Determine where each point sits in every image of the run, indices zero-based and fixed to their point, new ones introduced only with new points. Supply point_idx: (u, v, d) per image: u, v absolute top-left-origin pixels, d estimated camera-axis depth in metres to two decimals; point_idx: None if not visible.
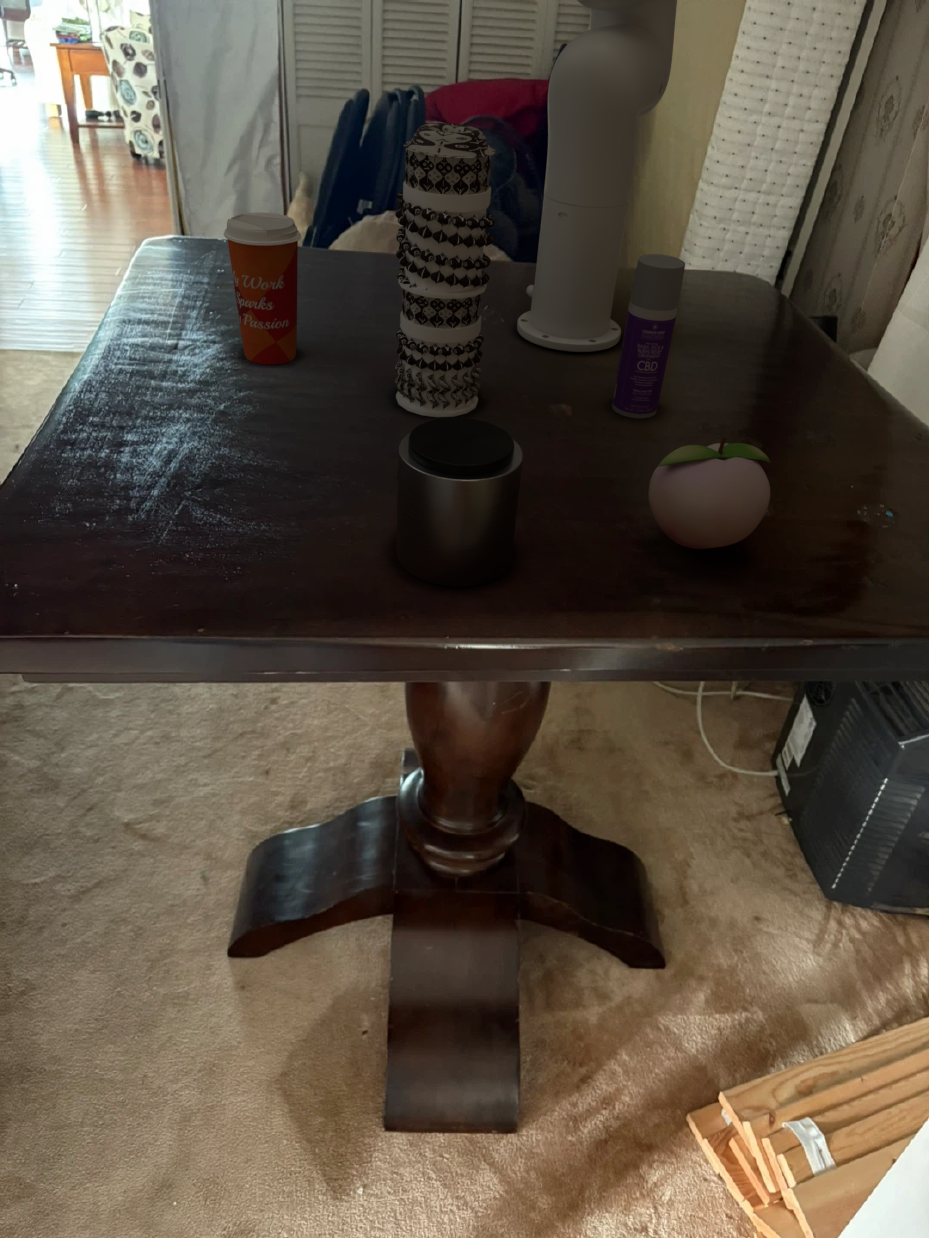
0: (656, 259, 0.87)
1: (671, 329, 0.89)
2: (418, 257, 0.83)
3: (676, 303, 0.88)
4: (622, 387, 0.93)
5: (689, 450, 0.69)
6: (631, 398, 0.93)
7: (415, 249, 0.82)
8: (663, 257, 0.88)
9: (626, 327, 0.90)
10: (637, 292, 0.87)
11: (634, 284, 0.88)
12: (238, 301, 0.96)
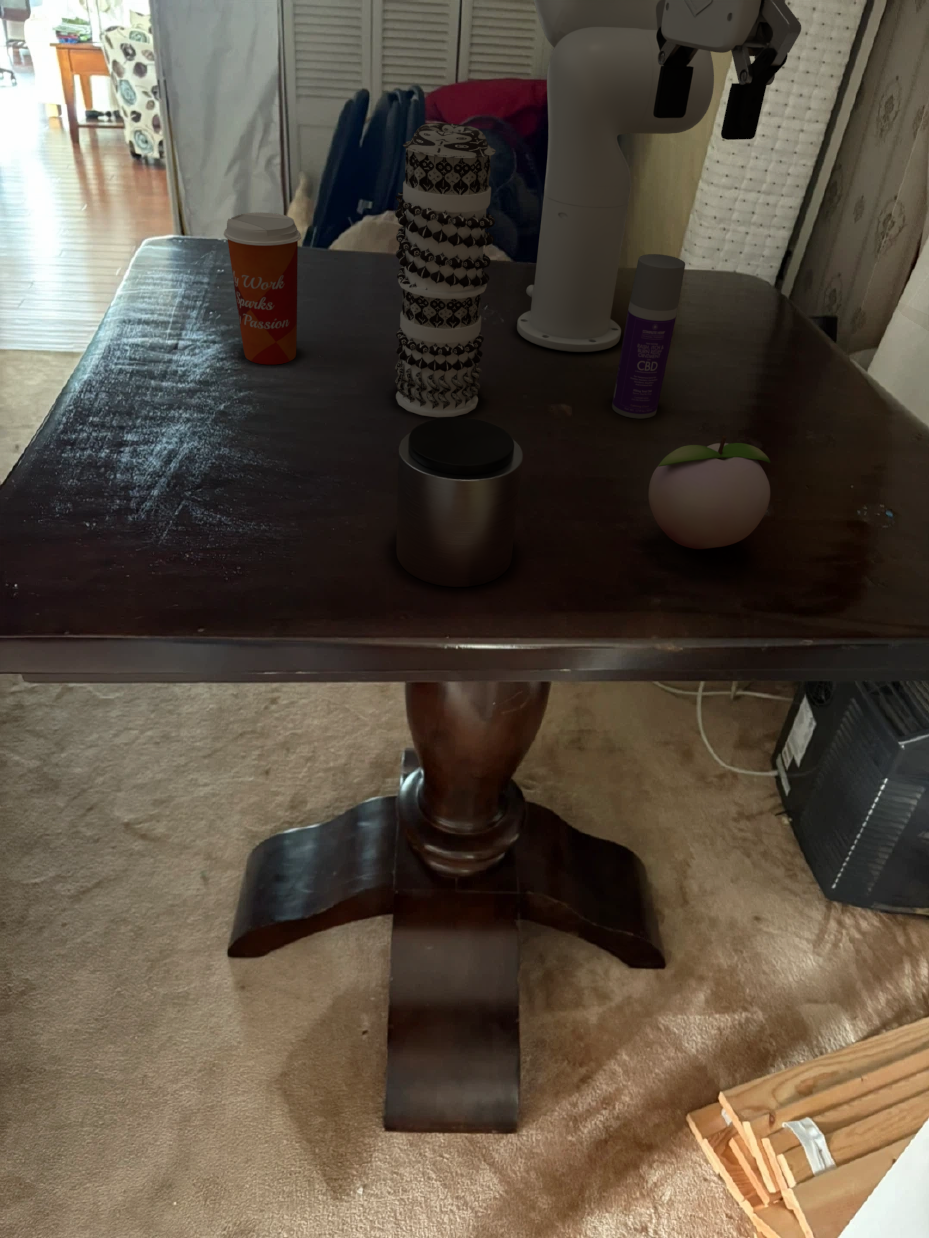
0: (656, 259, 0.87)
1: (671, 329, 0.89)
2: (418, 257, 0.83)
3: (676, 303, 0.88)
4: (622, 387, 0.93)
5: (689, 450, 0.69)
6: (631, 398, 0.93)
7: (415, 249, 0.82)
8: (663, 257, 0.88)
9: (626, 327, 0.90)
10: (637, 292, 0.87)
11: (634, 284, 0.88)
12: (238, 301, 0.96)
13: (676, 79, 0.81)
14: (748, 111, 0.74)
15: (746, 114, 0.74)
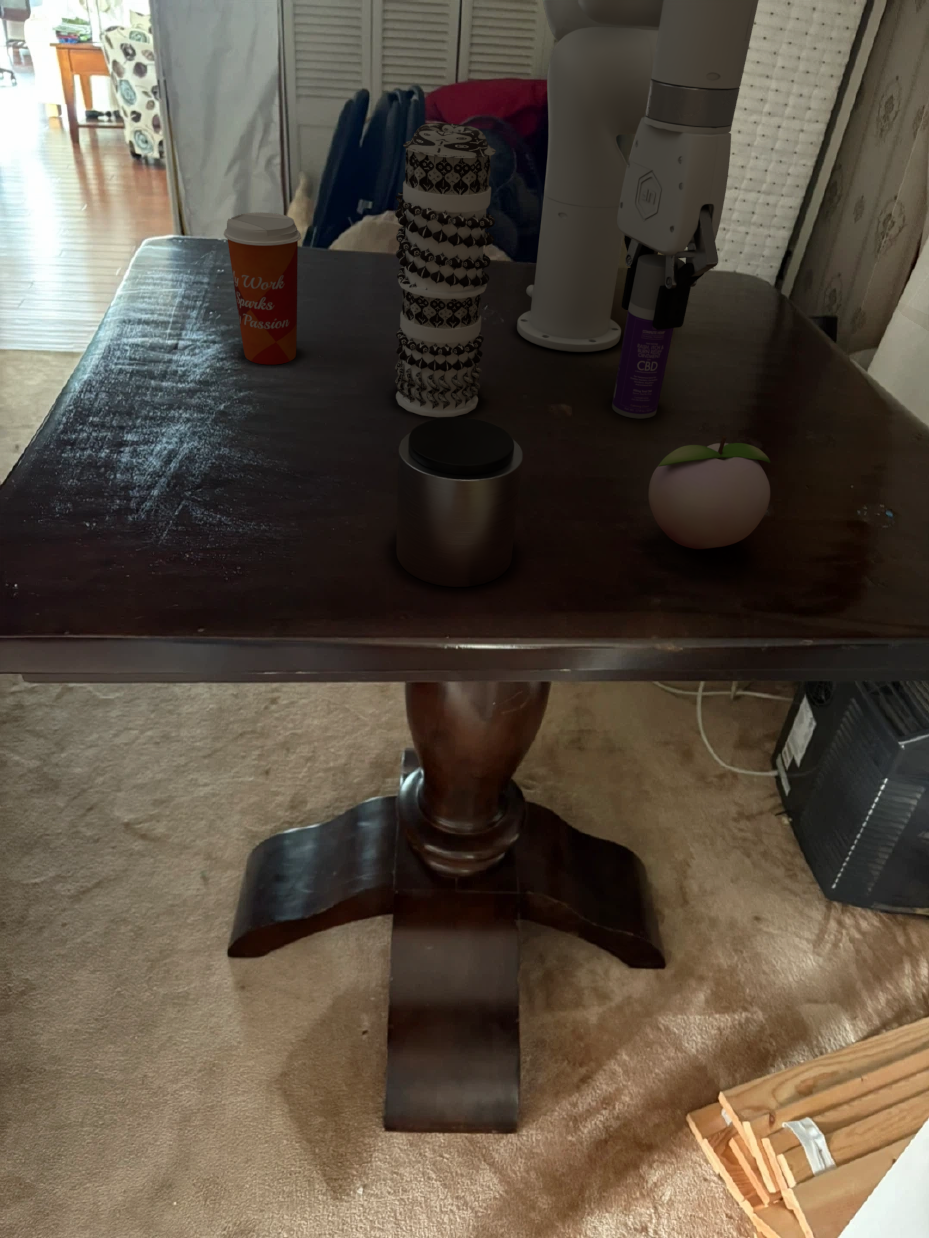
0: (656, 259, 0.87)
1: (671, 329, 0.89)
2: (418, 257, 0.83)
3: None
4: (622, 387, 0.93)
5: (689, 450, 0.69)
6: (631, 398, 0.93)
7: (415, 249, 0.82)
8: (663, 257, 0.88)
9: (626, 327, 0.90)
10: (637, 292, 0.87)
11: (634, 284, 0.88)
12: (238, 301, 0.96)
13: None
14: (674, 308, 0.86)
15: (673, 310, 0.86)
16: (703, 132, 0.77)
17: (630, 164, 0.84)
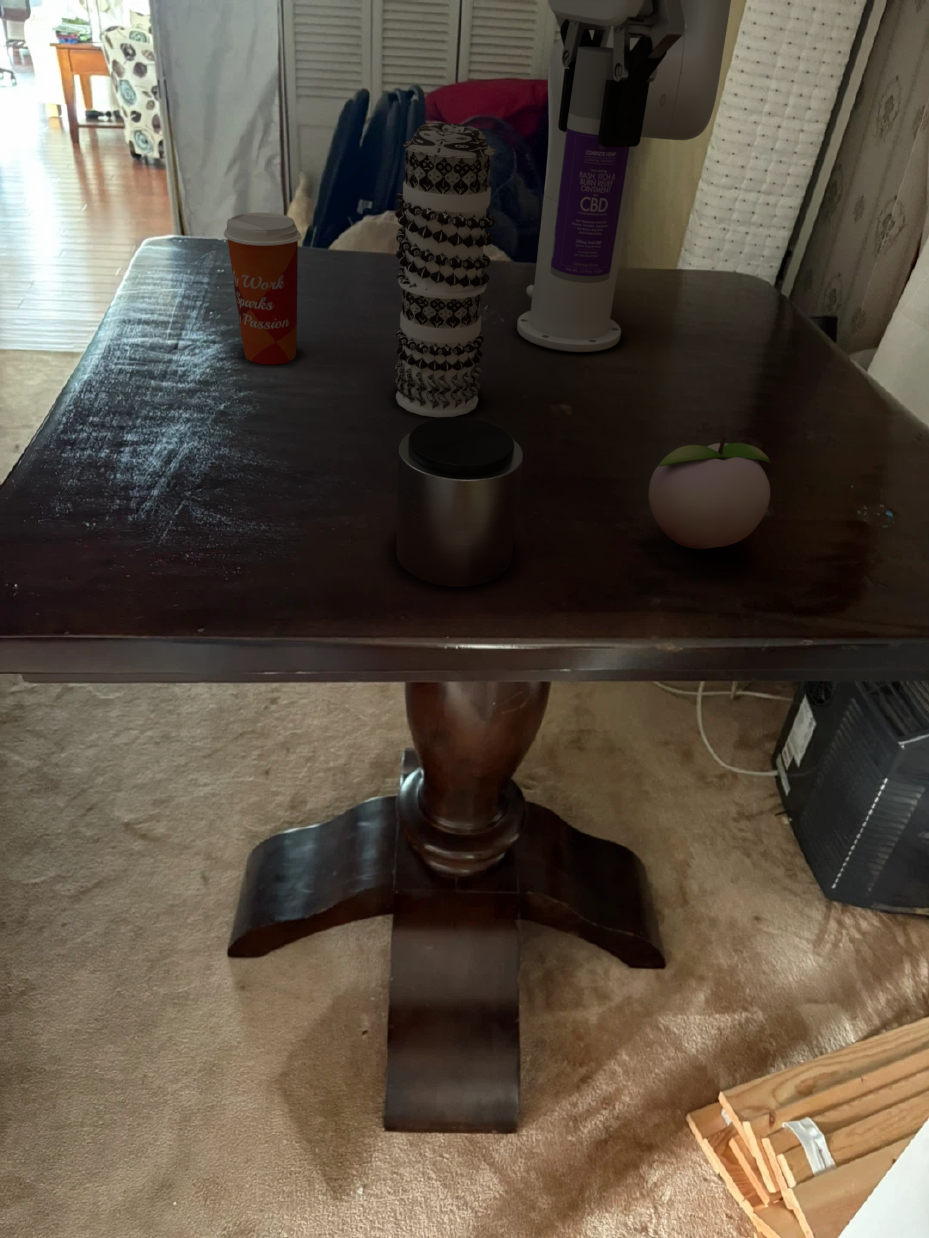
0: (603, 49, 0.63)
1: (625, 151, 0.66)
2: (418, 257, 0.83)
3: None
4: (561, 238, 0.69)
5: (689, 450, 0.69)
6: (574, 253, 0.69)
7: (415, 249, 0.82)
8: None
9: (565, 151, 0.67)
10: (577, 96, 0.64)
11: (573, 86, 0.64)
12: (238, 301, 0.96)
13: None
14: (627, 113, 0.62)
15: (625, 116, 0.62)
16: None
17: None
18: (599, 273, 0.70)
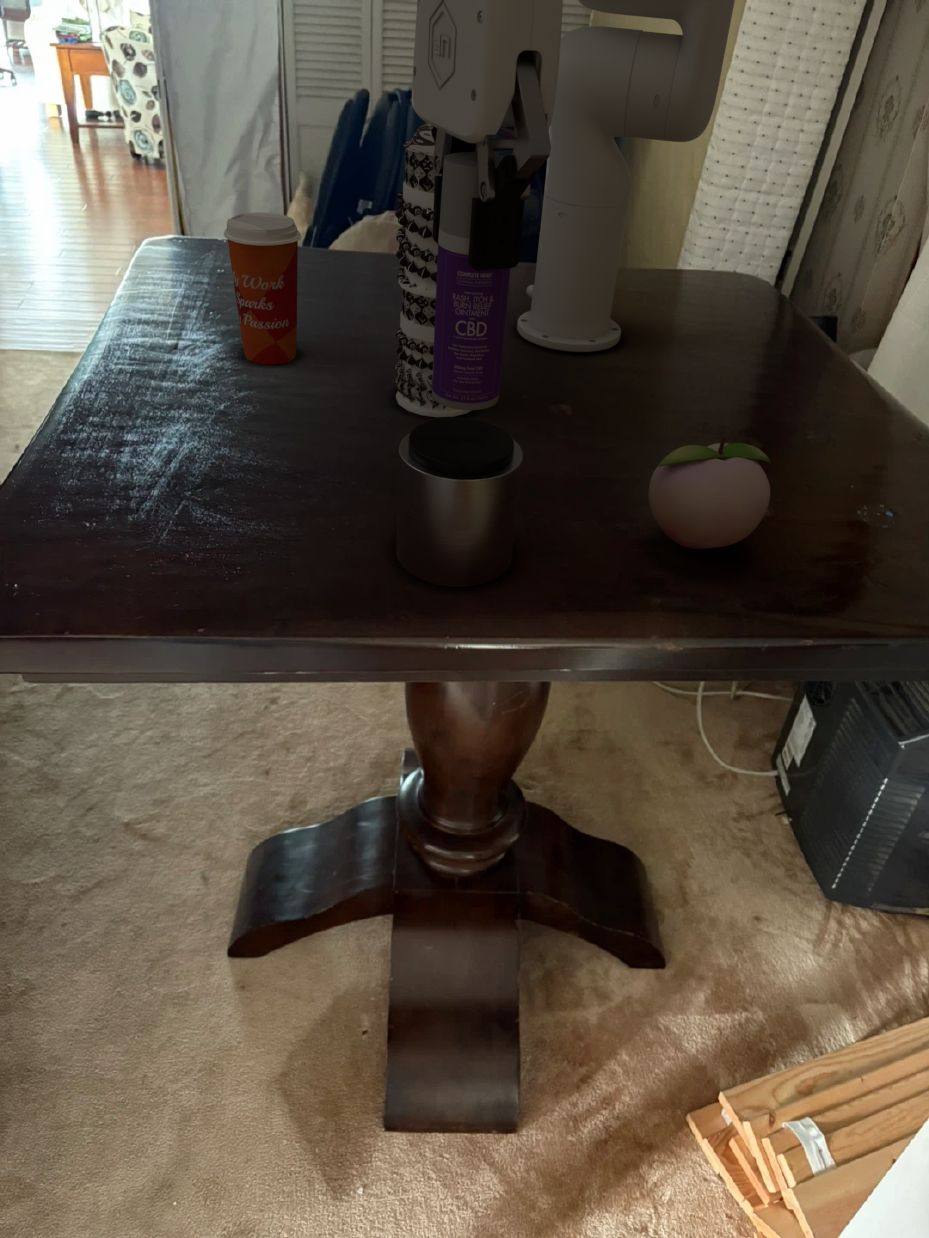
0: (473, 157, 0.55)
1: (504, 270, 0.57)
2: (418, 257, 0.83)
3: None
4: (439, 362, 0.61)
5: (689, 450, 0.69)
6: (453, 379, 0.61)
7: (415, 249, 0.82)
8: None
9: (437, 268, 0.58)
10: (445, 211, 0.55)
11: (441, 198, 0.56)
12: (238, 301, 0.96)
13: None
14: (498, 235, 0.54)
15: (496, 239, 0.54)
16: None
17: None
18: (483, 399, 0.62)
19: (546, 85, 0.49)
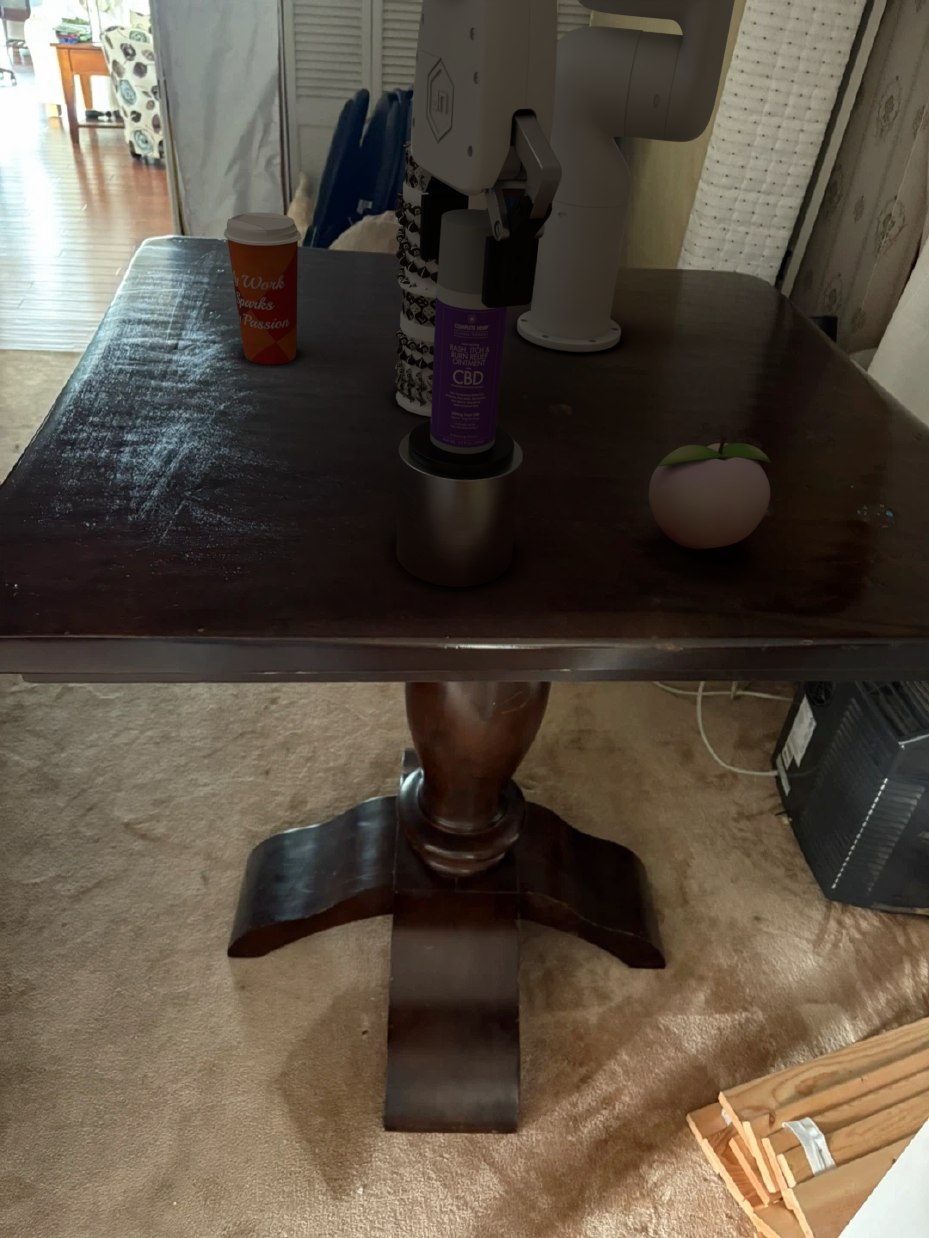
0: (470, 216, 0.57)
1: (500, 322, 0.59)
2: (418, 257, 0.83)
3: None
4: (437, 408, 0.63)
5: (689, 450, 0.69)
6: (451, 424, 0.63)
7: (415, 249, 0.82)
8: (483, 213, 0.58)
9: (435, 320, 0.60)
10: (442, 266, 0.58)
11: (439, 254, 0.58)
12: (238, 301, 0.96)
13: (444, 211, 0.60)
14: (512, 273, 0.54)
15: (510, 277, 0.54)
16: None
17: (418, 54, 0.54)
18: (480, 443, 0.64)
19: None
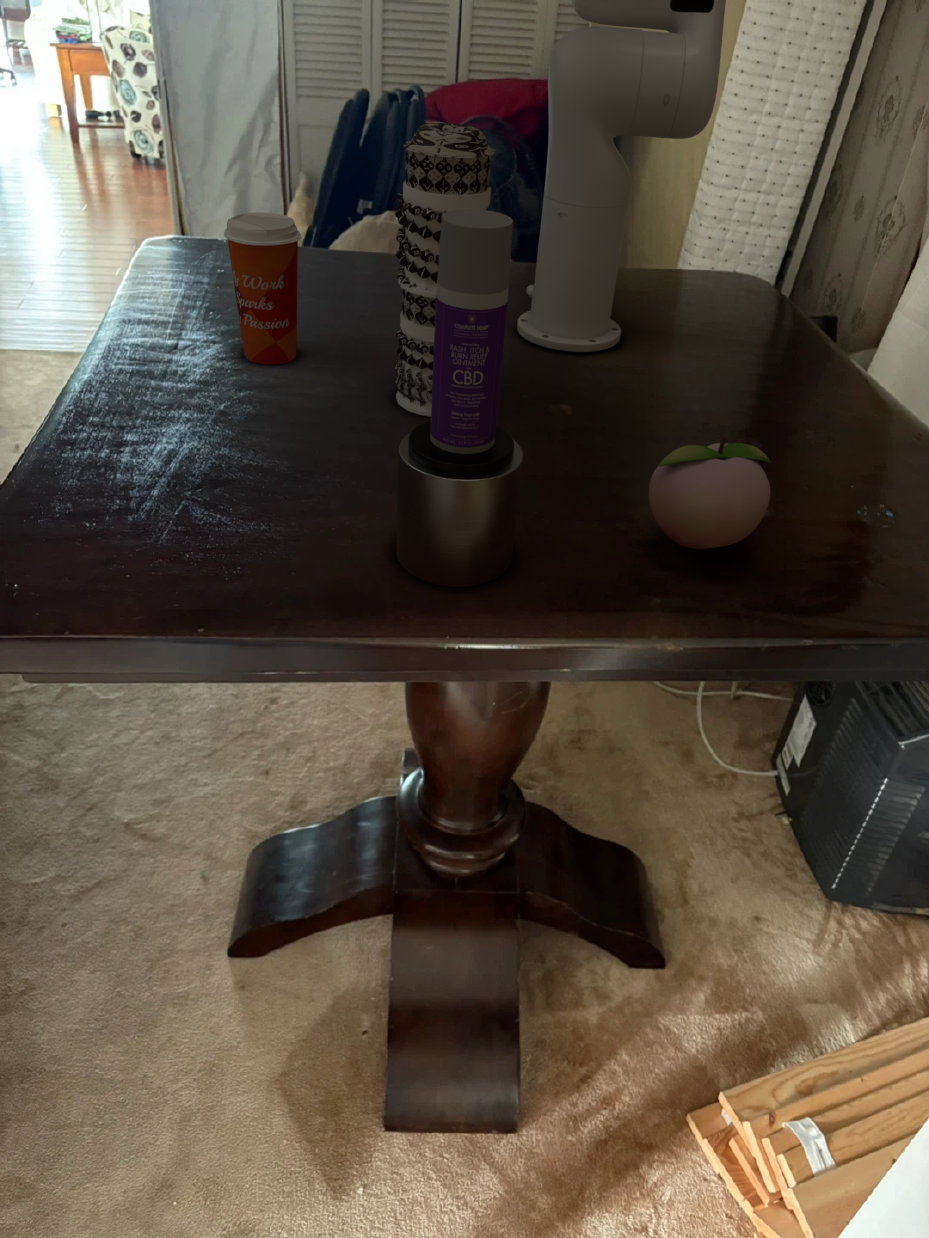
0: (470, 216, 0.57)
1: (500, 322, 0.59)
2: (418, 257, 0.83)
3: (503, 283, 0.58)
4: (437, 408, 0.63)
5: (689, 450, 0.69)
6: (451, 424, 0.63)
7: (415, 249, 0.82)
8: (483, 213, 0.58)
9: (435, 320, 0.60)
10: (442, 266, 0.58)
11: (439, 254, 0.58)
12: (238, 301, 0.96)
13: None
14: None
15: None
16: None
17: None
18: (480, 443, 0.64)
19: None
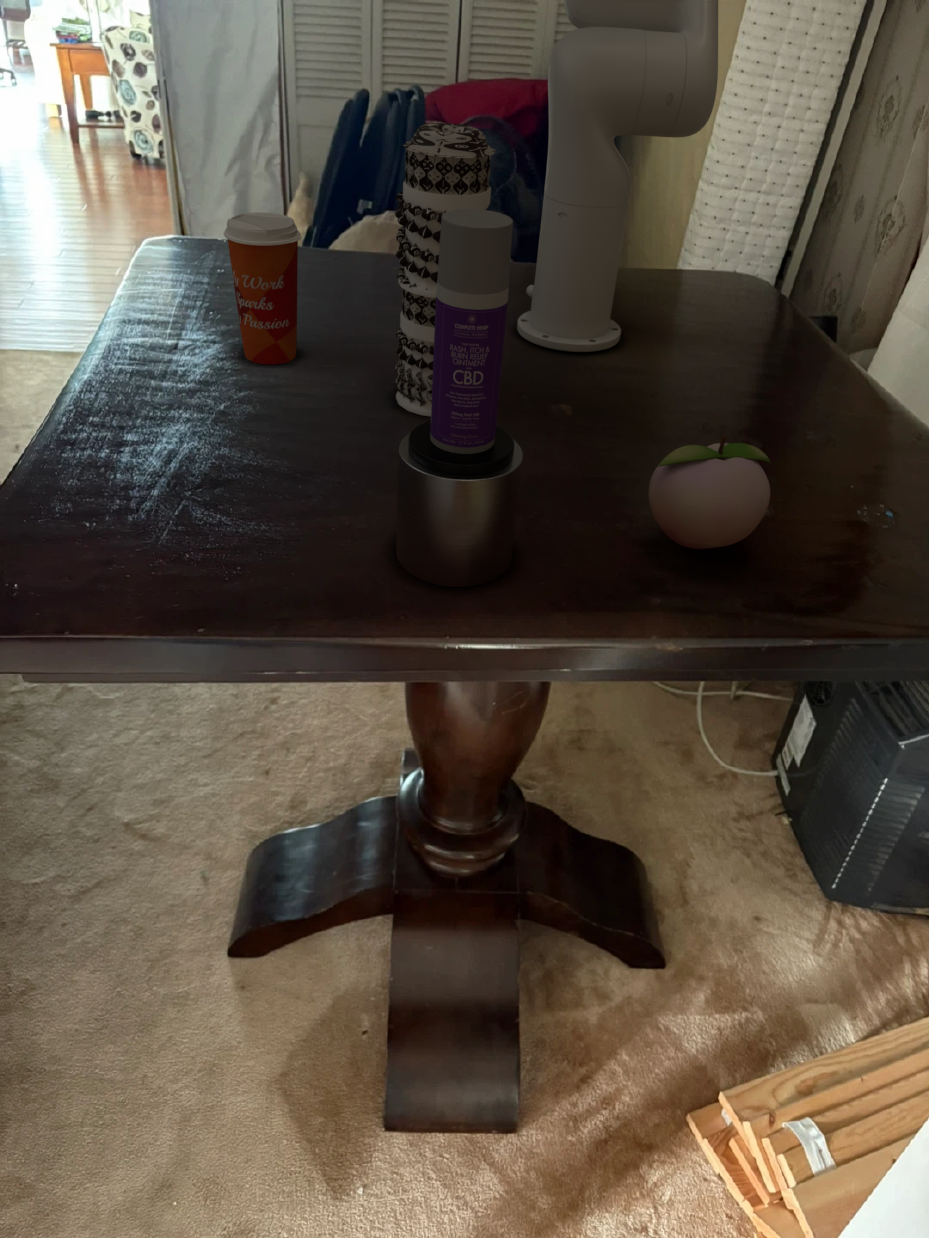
0: (470, 216, 0.57)
1: (500, 322, 0.59)
2: (418, 257, 0.83)
3: (503, 283, 0.58)
4: (437, 408, 0.63)
5: (689, 450, 0.69)
6: (451, 424, 0.63)
7: (415, 249, 0.82)
8: (483, 213, 0.58)
9: (435, 320, 0.60)
10: (442, 266, 0.58)
11: (439, 254, 0.58)
12: (238, 301, 0.96)
13: None
14: None
15: None
16: None
17: None
18: (480, 443, 0.64)
19: None
